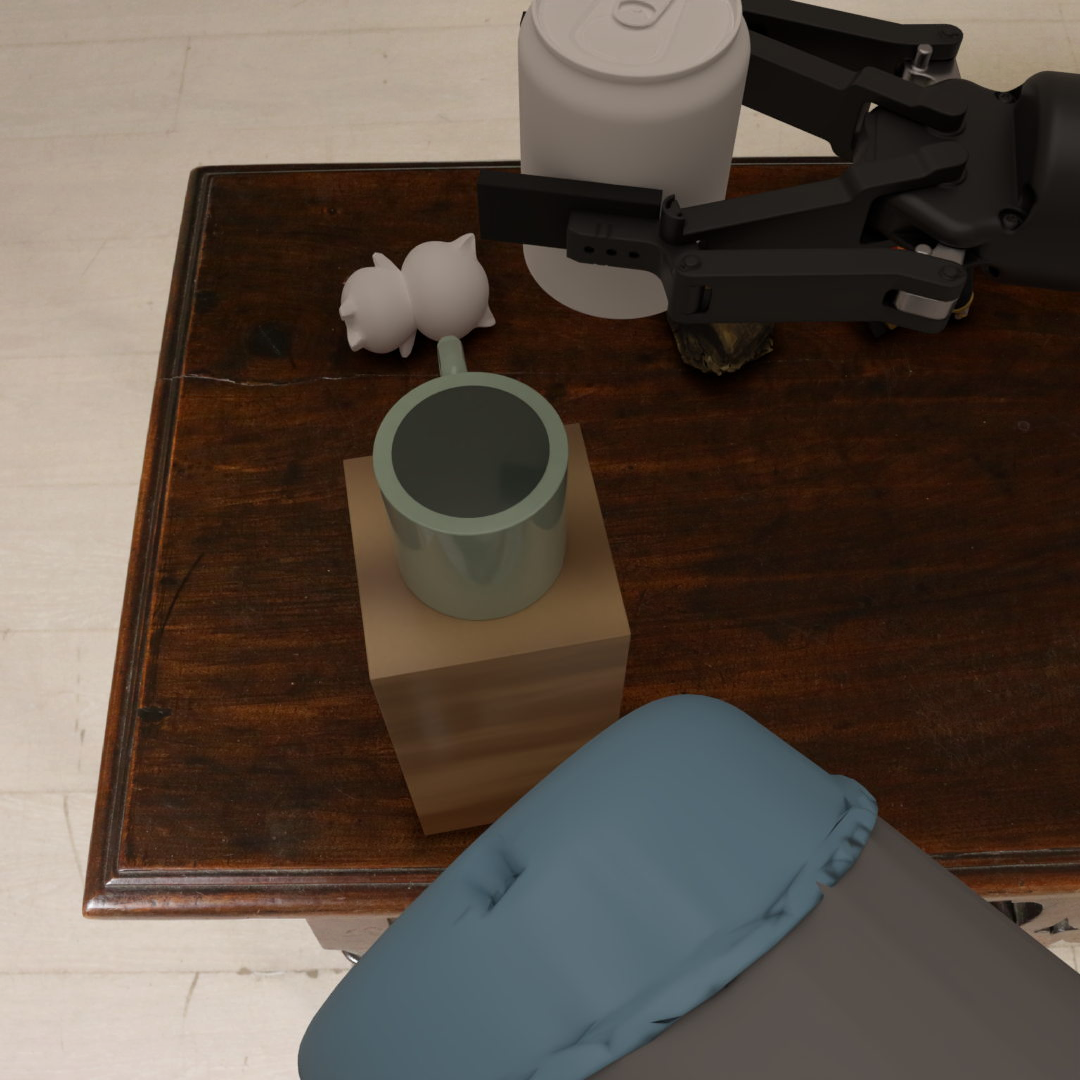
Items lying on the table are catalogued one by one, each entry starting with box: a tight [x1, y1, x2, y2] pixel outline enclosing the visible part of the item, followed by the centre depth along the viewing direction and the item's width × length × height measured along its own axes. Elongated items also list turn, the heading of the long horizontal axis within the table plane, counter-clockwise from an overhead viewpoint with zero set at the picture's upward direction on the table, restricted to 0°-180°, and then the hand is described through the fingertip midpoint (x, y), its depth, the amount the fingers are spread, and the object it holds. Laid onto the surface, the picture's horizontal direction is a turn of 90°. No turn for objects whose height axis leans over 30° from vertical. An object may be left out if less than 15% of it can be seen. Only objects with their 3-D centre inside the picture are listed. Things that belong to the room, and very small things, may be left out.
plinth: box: [342, 422, 632, 837], centre depth 67 cm, size 12×12×26 cm
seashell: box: [664, 286, 776, 376], centre depth 93 cm, size 16×9×7 cm, turn 14°
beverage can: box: [517, 0, 750, 320], centre depth 45 cm, size 8×8×12 cm
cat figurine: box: [338, 232, 497, 359], centre depth 93 cm, size 9×11×12 cm
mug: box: [372, 335, 569, 620], centre depth 53 cm, size 12×8×8 cm
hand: (502, 122), depth 45 cm, fingers closed on beverage can, 8 cm apart
